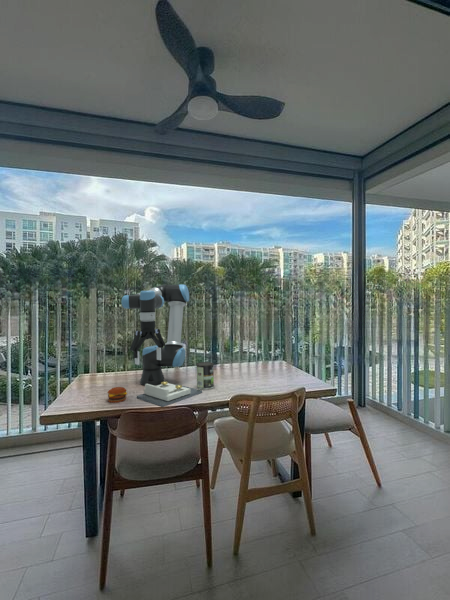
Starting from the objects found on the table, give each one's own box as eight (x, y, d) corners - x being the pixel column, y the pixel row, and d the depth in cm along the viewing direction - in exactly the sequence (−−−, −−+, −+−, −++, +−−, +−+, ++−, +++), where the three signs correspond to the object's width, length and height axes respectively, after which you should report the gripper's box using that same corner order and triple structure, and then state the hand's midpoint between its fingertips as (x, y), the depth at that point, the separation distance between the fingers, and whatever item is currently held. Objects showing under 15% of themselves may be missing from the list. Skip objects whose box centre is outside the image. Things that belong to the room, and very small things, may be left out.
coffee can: (215, 385, 187) (215, 362, 186) (211, 390, 176) (211, 365, 176) (199, 384, 189) (199, 361, 188) (194, 389, 179) (194, 365, 178)
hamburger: (110, 404, 155) (109, 391, 155) (106, 399, 163) (106, 387, 163) (128, 400, 160) (128, 388, 160) (124, 396, 168) (124, 384, 168)
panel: (144, 393, 167) (143, 383, 167) (166, 386, 179) (166, 377, 179) (167, 401, 154) (167, 390, 154) (190, 393, 166) (190, 383, 166)
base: (136, 398, 164) (136, 386, 164) (176, 385, 186) (175, 375, 186) (162, 406, 150) (162, 394, 150) (202, 392, 172) (202, 381, 172)
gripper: (131, 322, 144) (131, 367, 144) (171, 319, 163) (171, 358, 163) (122, 322, 148) (122, 365, 148) (162, 319, 168) (162, 357, 168)
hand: (148, 362), depth 156 cm, fingers open, 13 cm apart
